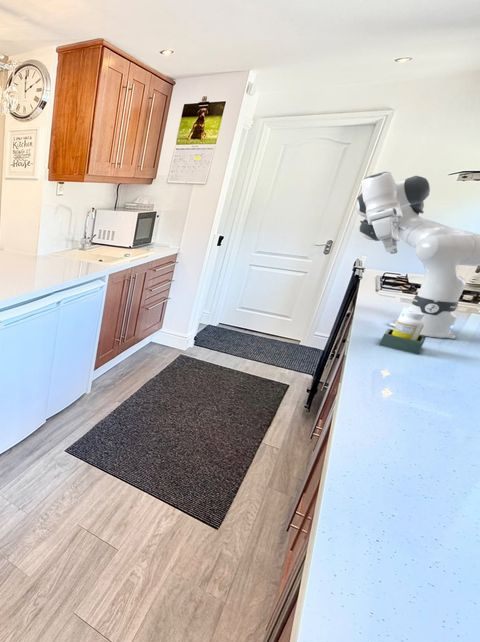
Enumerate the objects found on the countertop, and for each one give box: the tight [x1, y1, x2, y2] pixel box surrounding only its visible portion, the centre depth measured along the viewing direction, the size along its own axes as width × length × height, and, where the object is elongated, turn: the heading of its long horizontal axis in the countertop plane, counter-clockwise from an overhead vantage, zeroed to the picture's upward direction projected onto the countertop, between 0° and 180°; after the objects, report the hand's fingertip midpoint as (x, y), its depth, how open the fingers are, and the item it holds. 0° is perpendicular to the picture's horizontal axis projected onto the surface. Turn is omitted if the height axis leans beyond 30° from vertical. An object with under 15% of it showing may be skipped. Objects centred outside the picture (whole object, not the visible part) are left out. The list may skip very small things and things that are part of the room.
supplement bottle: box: [392, 310, 425, 341], centre depth 146 cm, size 7×7×13 cm
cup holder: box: [378, 328, 427, 355], centre depth 148 cm, size 10×10×4 cm
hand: (392, 252), depth 146 cm, fingers open, 8 cm apart
